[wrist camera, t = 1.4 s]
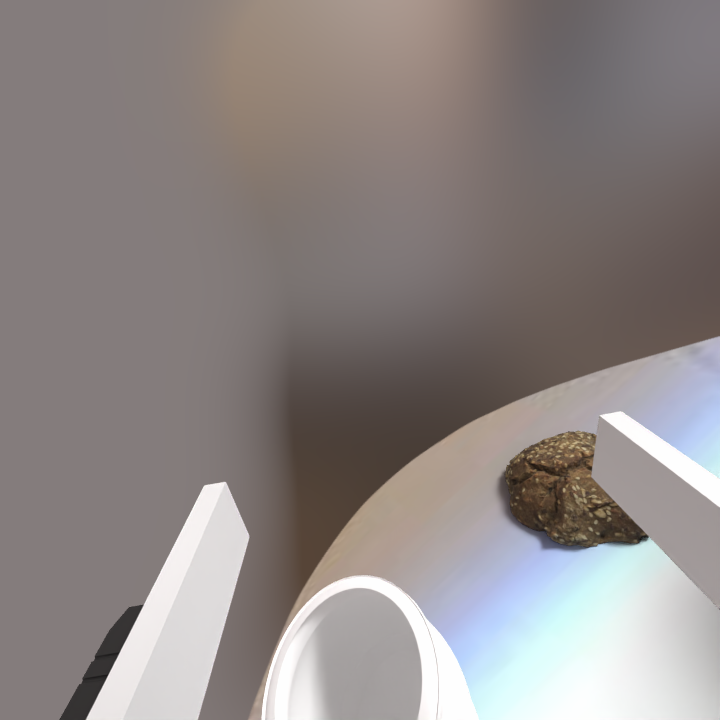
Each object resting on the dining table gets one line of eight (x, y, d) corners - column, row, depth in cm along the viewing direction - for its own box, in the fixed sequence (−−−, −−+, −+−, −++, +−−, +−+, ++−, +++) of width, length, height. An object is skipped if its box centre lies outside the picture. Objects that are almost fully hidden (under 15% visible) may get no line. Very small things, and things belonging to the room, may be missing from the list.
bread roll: (603, 433, 39) (601, 403, 37) (682, 538, 29) (687, 506, 27) (492, 459, 43) (484, 433, 40) (528, 561, 32) (520, 534, 30)
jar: (405, 908, 21) (278, 920, 13) (346, 703, 29) (250, 641, 22) (534, 780, 22) (486, 727, 15) (442, 623, 31) (382, 540, 24)
